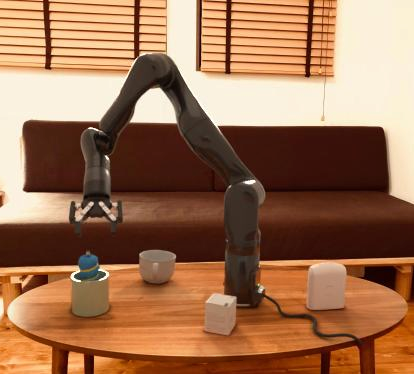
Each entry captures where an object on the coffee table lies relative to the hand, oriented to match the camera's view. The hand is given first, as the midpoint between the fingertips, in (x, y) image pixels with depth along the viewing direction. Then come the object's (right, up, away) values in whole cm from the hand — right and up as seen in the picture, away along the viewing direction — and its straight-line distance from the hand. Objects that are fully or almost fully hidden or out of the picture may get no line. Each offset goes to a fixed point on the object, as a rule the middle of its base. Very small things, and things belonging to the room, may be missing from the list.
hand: (95, 235), depth 124 cm
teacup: (+14, -15, +13) cm, 25 cm away
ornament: (0, -18, -6) cm, 19 cm away
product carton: (+33, -21, -14) cm, 42 cm away
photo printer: (+61, -19, 0) cm, 64 cm away
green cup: (0, -18, -6) cm, 19 cm away
